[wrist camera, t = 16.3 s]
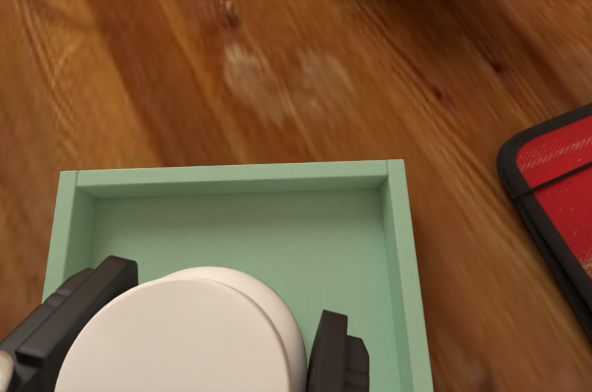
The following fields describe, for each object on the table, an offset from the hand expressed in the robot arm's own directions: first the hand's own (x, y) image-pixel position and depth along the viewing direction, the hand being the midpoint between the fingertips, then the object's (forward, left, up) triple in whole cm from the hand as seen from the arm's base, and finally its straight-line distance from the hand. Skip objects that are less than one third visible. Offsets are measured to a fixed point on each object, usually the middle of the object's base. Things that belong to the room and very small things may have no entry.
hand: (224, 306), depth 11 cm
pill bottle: (0, -2, -6) cm, 7 cm away
